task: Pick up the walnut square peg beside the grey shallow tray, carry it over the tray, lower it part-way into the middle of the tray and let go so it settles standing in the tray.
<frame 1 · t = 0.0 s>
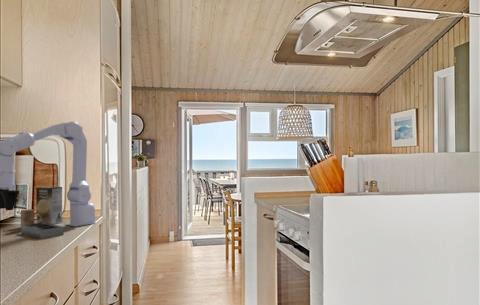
hand: (5, 209, 136), 10 cm above the worktop, fingers open, 7 cm apart
walnut peg: (27, 229, 148), on the worktop
coffee box: (49, 223, 163), on the worktop
grey shallow tray: (42, 234, 139), on the worktop
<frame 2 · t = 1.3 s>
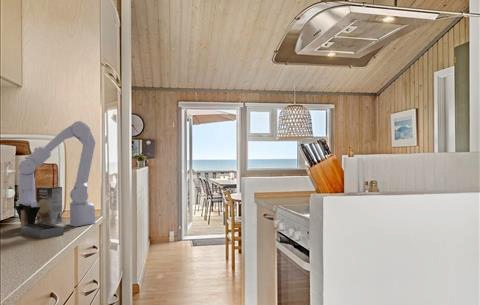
hand: (27, 223, 148), 2 cm above the worktop, fingers open, 7 cm apart
nothing on the worktop moved.
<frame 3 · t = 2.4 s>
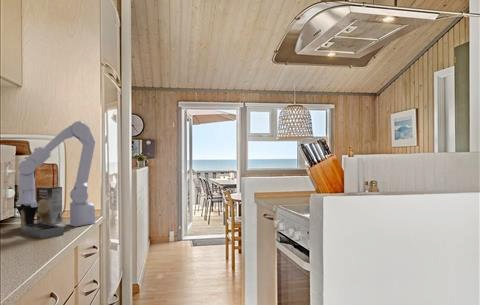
hand: (27, 223, 148), 2 cm above the worktop, fingers closed on walnut peg, 4 cm apart
walnut peg: (27, 229, 148), on the worktop, touching gripper
everything else where it was.
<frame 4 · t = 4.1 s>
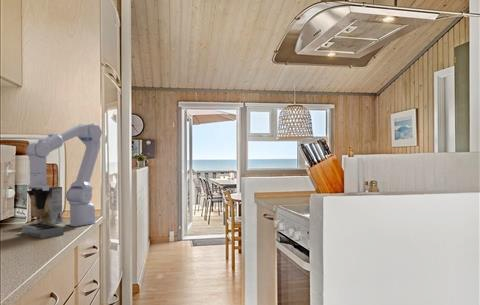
hand: (38, 208, 141), 9 cm above the worktop, fingers closed on walnut peg, 4 cm apart
walnut peg: (37, 215, 141), point 7 cm above the worktop, touching gripper
everything else where it was.
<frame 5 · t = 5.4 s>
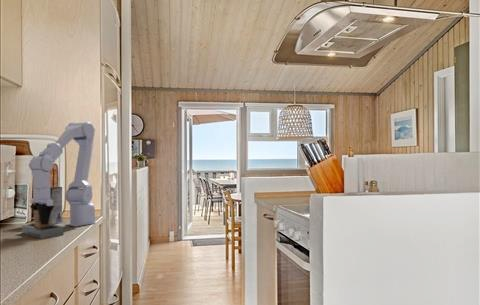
hand: (42, 223, 139), 4 cm above the worktop, fingers closed on walnut peg, 4 cm apart
walnut peg: (41, 230, 139), point 1 cm above the worktop, touching gripper
everything else where it was.
when the fingers open (4 cm above the worktop, at t = 6.2 s): walnut peg drops 1 cm, resting in grey shallow tray.
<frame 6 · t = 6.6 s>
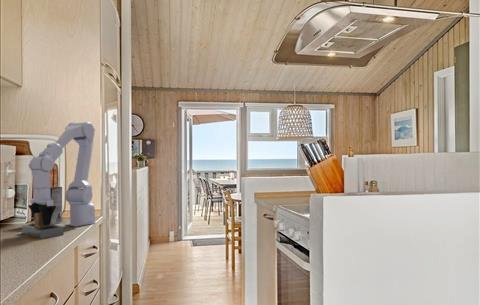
hand: (42, 223, 139), 4 cm above the worktop, fingers open, 7 cm apart
walnut peg: (41, 234, 139), resting in grey shallow tray
everything else where it was.
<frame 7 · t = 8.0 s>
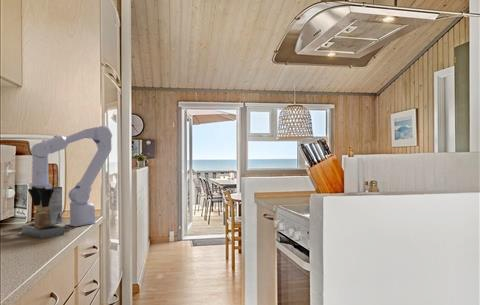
hand: (41, 206, 149), 9 cm above the worktop, fingers open, 7 cm apart
nothing on the worktop moved.
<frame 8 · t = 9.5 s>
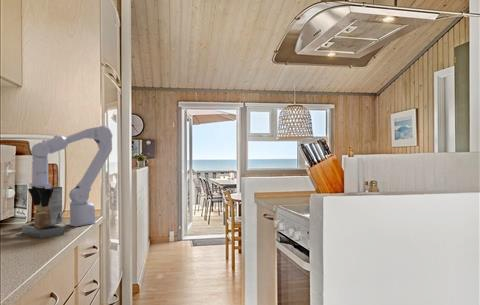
hand: (40, 205, 149), 9 cm above the worktop, fingers open, 7 cm apart
nothing on the worktop moved.
at the end: walnut peg 0.3 cm off-centre on the grey shallow tray, point 0.0 cm above the grey shallow tray's base; walnut peg tilted 0°; the gripper is holding nothing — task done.
